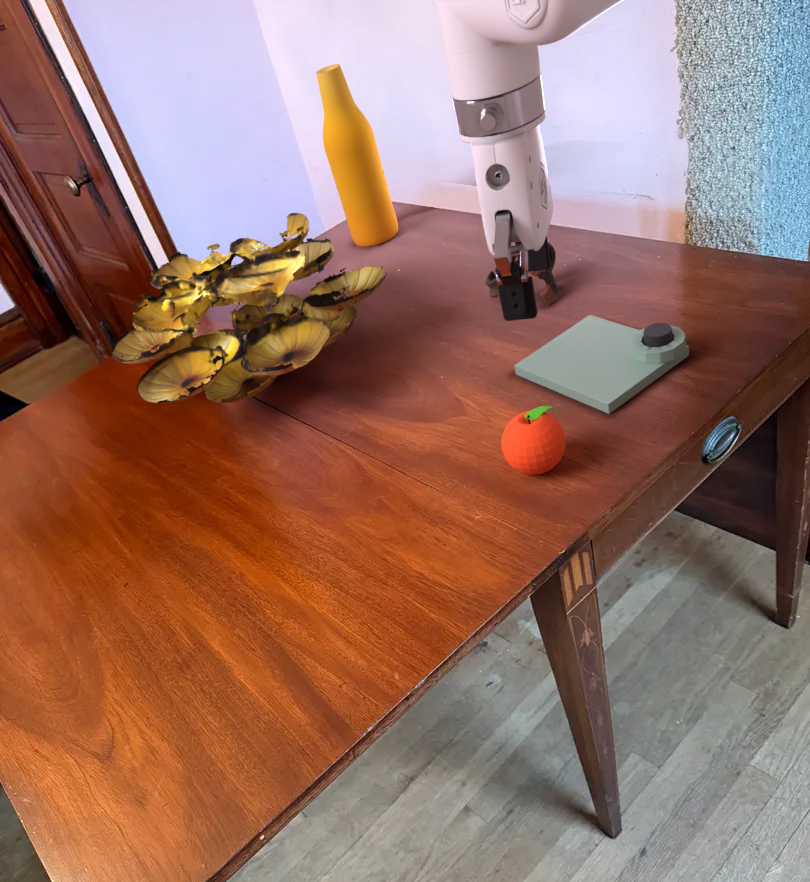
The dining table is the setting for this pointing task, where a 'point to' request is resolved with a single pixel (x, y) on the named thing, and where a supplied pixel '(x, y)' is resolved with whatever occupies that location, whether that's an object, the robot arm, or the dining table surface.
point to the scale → (601, 362)
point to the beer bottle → (355, 162)
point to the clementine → (533, 441)
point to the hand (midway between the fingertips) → (528, 292)
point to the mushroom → (240, 317)
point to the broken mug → (546, 275)
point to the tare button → (657, 335)
